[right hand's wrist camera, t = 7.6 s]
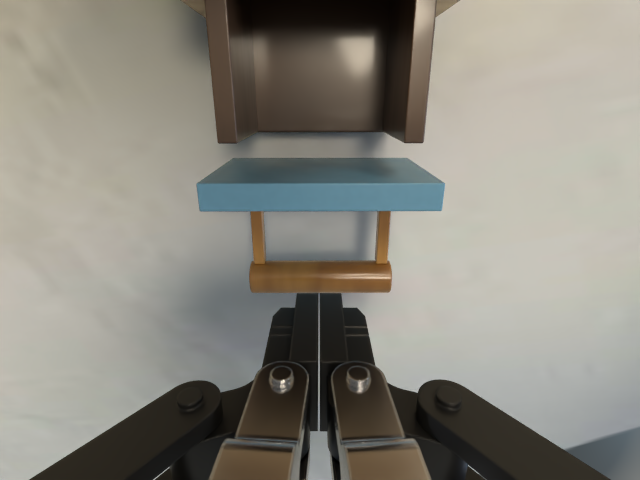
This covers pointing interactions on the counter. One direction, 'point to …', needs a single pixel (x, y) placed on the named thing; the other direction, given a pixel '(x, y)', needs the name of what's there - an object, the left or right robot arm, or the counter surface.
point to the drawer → (320, 121)
